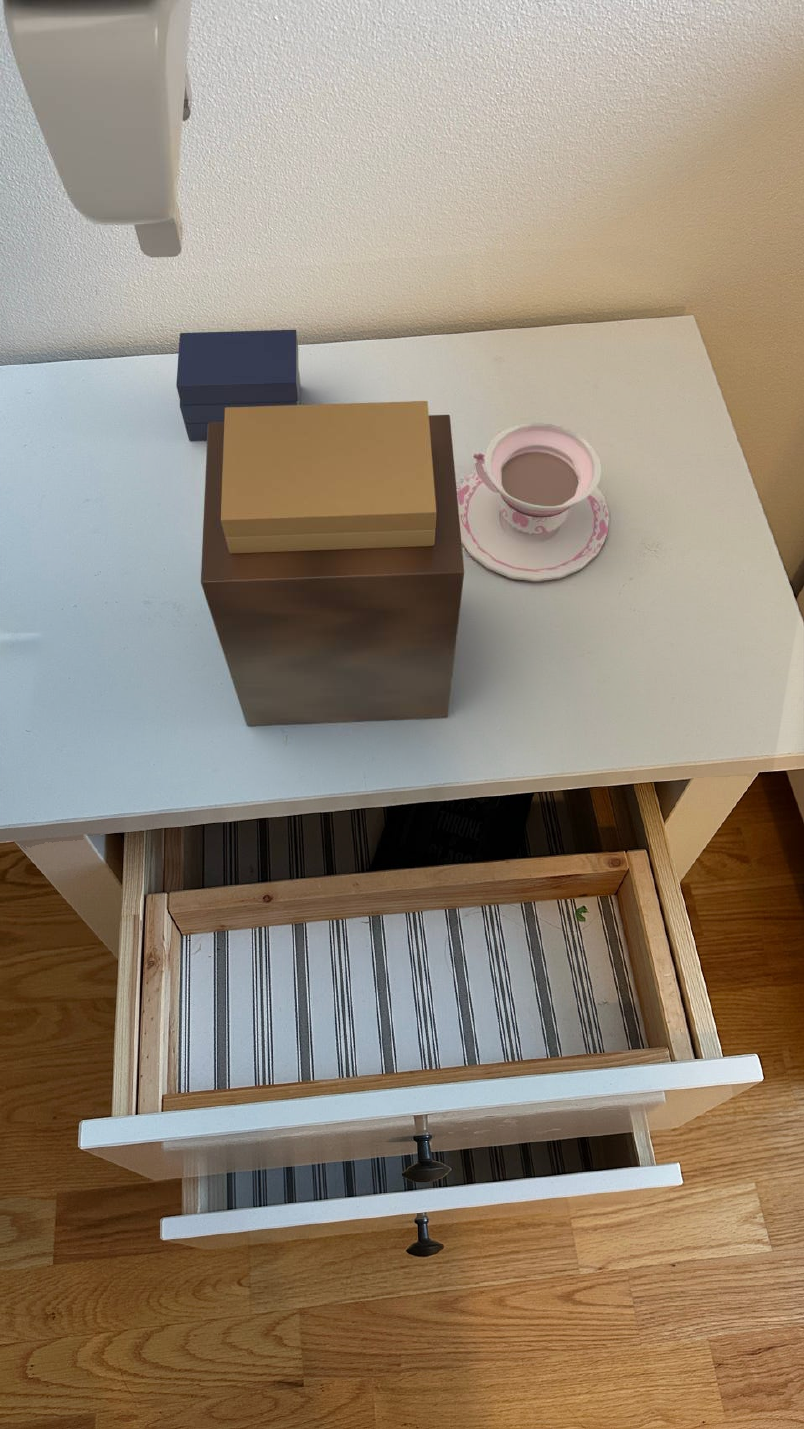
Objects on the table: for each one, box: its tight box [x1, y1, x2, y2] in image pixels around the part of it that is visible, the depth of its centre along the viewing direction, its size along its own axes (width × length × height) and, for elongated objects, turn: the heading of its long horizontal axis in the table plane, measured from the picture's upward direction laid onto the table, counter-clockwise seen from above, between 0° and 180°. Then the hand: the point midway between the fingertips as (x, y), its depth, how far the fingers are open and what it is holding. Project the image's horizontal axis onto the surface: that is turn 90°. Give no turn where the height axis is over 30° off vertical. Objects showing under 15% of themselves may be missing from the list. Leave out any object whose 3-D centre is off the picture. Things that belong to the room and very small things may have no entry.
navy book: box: [175, 329, 299, 405], centre depth 76 cm, size 9×6×2 cm, turn 93°
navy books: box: [179, 366, 302, 442], centre depth 78 cm, size 9×6×4 cm, turn 93°
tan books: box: [221, 400, 436, 554], centre depth 53 cm, size 11×8×3 cm
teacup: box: [457, 422, 610, 583], centre depth 73 cm, size 12×12×6 cm
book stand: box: [200, 414, 465, 727], centre depth 62 cm, size 14×11×18 cm
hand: (169, 176), depth 46 cm, fingers open, 8 cm apart
